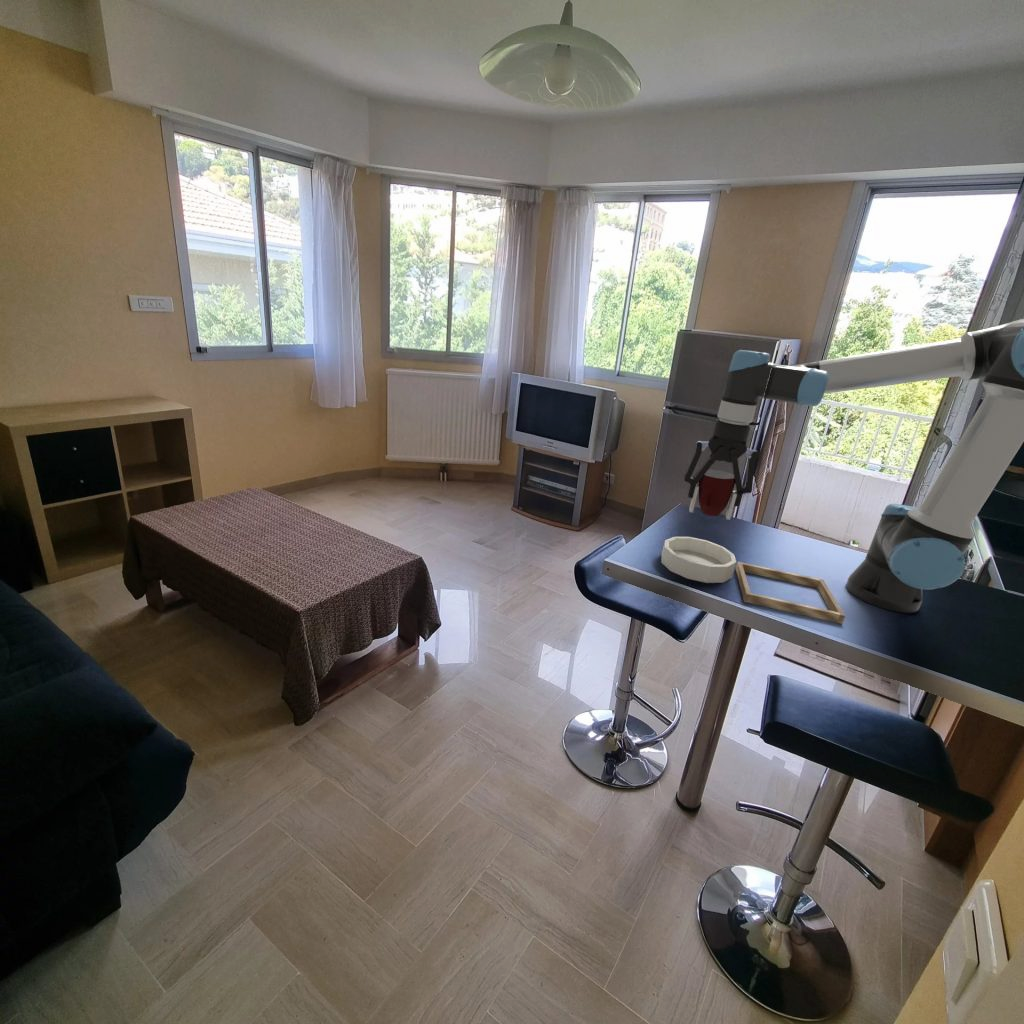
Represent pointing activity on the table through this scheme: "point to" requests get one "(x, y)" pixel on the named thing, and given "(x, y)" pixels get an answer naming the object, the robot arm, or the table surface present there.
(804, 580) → the frame tray
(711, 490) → the mug
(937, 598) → the table surface
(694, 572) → the bowl
